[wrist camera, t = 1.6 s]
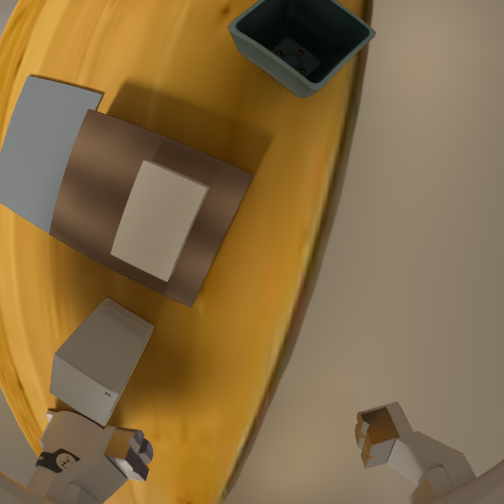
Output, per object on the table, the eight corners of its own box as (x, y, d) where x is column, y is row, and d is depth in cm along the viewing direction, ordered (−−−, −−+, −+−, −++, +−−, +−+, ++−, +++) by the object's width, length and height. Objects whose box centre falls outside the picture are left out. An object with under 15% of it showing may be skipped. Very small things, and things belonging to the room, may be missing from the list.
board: (197, 291, 31) (191, 307, 27) (67, 226, 29) (48, 234, 25) (252, 175, 28) (253, 175, 24) (105, 114, 25) (88, 108, 21)
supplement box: (106, 294, 31) (53, 351, 19) (156, 325, 32) (122, 396, 20) (92, 334, 33) (47, 392, 21) (137, 362, 34) (105, 429, 22)
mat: (56, 236, 29) (54, 236, 29) (-8, 196, 27) (-9, 196, 27) (103, 95, 25) (102, 94, 24) (29, 76, 22) (28, 75, 22)
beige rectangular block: (172, 274, 26) (167, 282, 24) (118, 248, 25) (110, 253, 24) (210, 186, 24) (207, 188, 22) (151, 160, 23) (143, 160, 21)
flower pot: (230, 65, 24) (224, 26, 16) (282, 17, 23) (295, -27, 14) (295, 115, 26) (317, 93, 18) (345, 64, 24) (378, 33, 16)
